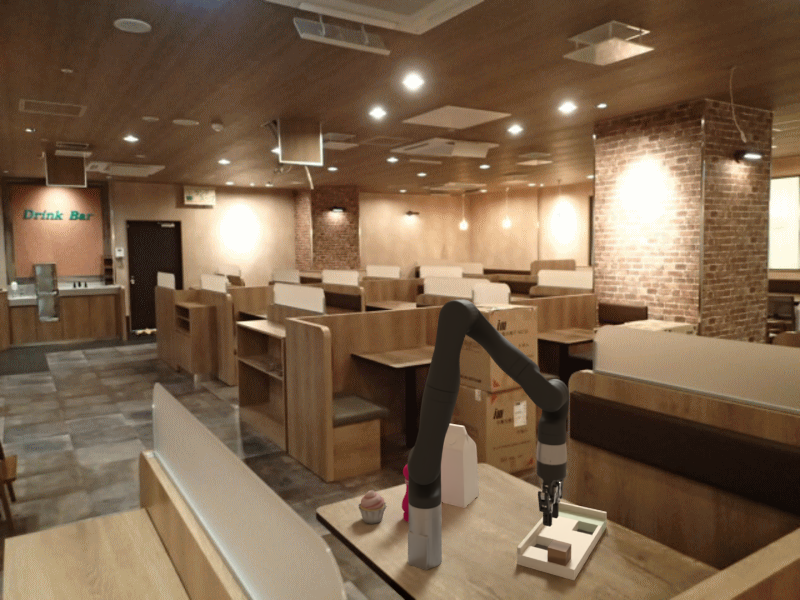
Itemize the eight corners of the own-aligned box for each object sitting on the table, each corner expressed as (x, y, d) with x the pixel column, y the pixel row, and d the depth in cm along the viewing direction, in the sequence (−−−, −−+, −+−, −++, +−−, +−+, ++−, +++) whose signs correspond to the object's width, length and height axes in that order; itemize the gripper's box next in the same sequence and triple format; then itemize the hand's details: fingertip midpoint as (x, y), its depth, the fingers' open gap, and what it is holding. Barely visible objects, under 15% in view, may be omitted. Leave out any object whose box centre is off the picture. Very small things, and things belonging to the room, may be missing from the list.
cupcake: (391, 523, 199) (390, 493, 198) (363, 528, 196) (362, 498, 194) (381, 510, 208) (380, 482, 206) (354, 516, 204) (353, 486, 203)
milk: (479, 495, 218) (479, 423, 215) (464, 508, 209) (464, 432, 206) (448, 488, 225) (448, 418, 222) (433, 500, 215) (432, 427, 212)
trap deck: (574, 580, 165) (574, 562, 165) (517, 564, 174) (517, 547, 173) (606, 527, 194) (606, 512, 193) (555, 515, 202) (556, 500, 202)
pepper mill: (415, 526, 197) (414, 465, 194) (397, 519, 201) (396, 460, 199) (428, 517, 202) (427, 458, 200) (410, 511, 207) (409, 453, 204)
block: (565, 566, 167) (565, 552, 166) (547, 561, 169) (547, 547, 169) (571, 557, 171) (571, 544, 170) (553, 553, 173) (553, 539, 173)
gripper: (557, 470, 152) (556, 536, 154) (574, 451, 164) (573, 513, 166) (527, 464, 156) (527, 529, 158) (546, 446, 168) (545, 507, 170)
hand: (550, 520), depth 162 cm, fingers open, 4 cm apart
